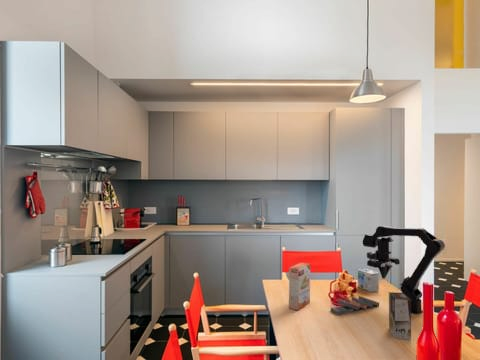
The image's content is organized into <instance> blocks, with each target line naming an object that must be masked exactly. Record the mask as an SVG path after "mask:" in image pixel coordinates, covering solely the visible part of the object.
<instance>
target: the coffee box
mask: <svg viewBox="0 0 480 360" xmlns="http://www.w3.org/2000/svg"><path fill="white" fill-rule="evenodd" d="M411 325H412V312H411V300H410V299H409V298H408V297H407V296H406V295H405V294H404V293H402V292H394V291H393V292H392V291H389V292H388V329H389V331H390V333H391V334H392V336H393V338H395V339H398V340H399V339H401V340H410V341H411V340H412V326H411Z"/></svg>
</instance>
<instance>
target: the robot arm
mask: <svg viewBox="0 0 480 360" xmlns="http://www.w3.org/2000/svg"><path fill="white" fill-rule="evenodd" d="M393 236H399V237H402V236H403V237H418V238H419V239H420V240H421V242H422V243H423V244H424V245H425V246H426V248H425V250H424V255H423V256H422V258H421V259H420V260H419V263H418V265H417V266H416V267H415V269H414V270H413V273H412V274H411V276H406V277H405V278H403V280H402V283H401V284H399V285H400V291H401V293H404V294H405V295H406V296H407V297H408V298H409V299H410V300H411V314H415V315H416V314H421V313H423V312H422V310H423V309H422V299H421V298H422V296H423V295H422V294H423V293H422V292H421V290H420V289H419V286H420V281H421V280H422V278H423V276H424V275H425V273H426V272H427V270H428V268H429V267H430V265H431V263H432V262H433V260H434V259H435V258H436V257H437V256H439V254H441V252H442V251H443V250H445V247H446V244H445V243H444V241H443V240H442V239H440V238H437V237H436V236H435V235H434V234H432V233H430V232H429V231H427V230H426V229H425V228H424V227H420V228H412V227H411V228H410V227H409V228H407V227H394V226H391V225H380V226H379V225H378V226H377V227H376V229H375V232H374V233H373V234H369V233H367V234H364V237H363V240H362V245H363V247H365V248H366V247H367V248H373V249H375V248H377V249H376V250H375V252H373V253H372V252H371V251H370V252H366V258H367V259H369V260H367V262H366V265H367V266H369V267H372V268H376V269H377V268H378V270H379V274H380V275H381V278H382V279H386V277H387V276H388V274H389V272H390V270H391V268H393V265H391V264H392V263H393V264H395V265H400V262H401V261H400V259H399V258H396V257H393V256H390V255H391V254H392V251H391V250H390V243H391V242H394V239H393V238H391V237H393Z"/></svg>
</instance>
